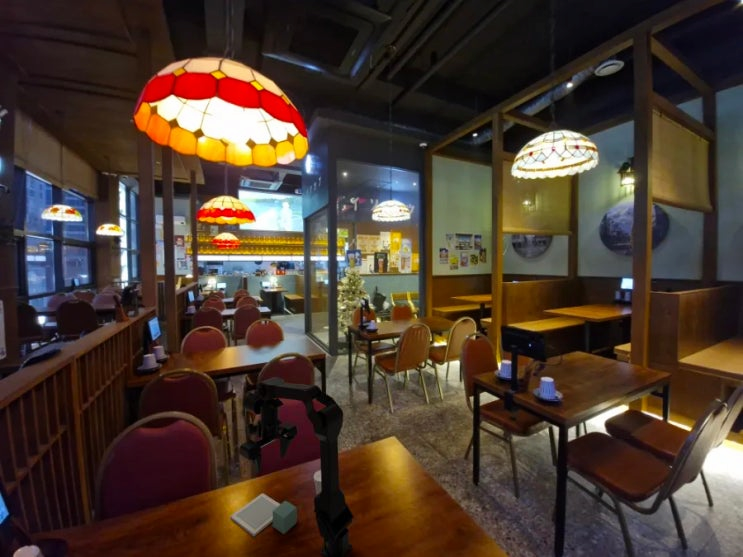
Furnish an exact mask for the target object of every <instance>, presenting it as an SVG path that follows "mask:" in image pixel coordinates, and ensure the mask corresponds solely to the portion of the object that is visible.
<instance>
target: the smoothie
mask: <svg viewBox="0 0 743 557" xmlns="http://www.w3.org/2000/svg"><path fill="white" fill-rule="evenodd" d="M313 482H314V484H315V494H316V496H317V495H318V494H319V493H320V492H321V469H318V470H317V471H316V472H315V473H314V474H313Z"/></svg>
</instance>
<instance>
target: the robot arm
mask: <svg viewBox="0 0 743 557" xmlns="http://www.w3.org/2000/svg"><path fill="white" fill-rule="evenodd" d="M281 399H285V400H291V401H297V402H302V403H303V405H304V406H305V414H306V417H307V418H308V420H309V422H311V425H312V426H313V432H314V434H315V436H316V438H317V439H318V440H319V457H320V458H319V459H320V470H321V492H320V493H319V494H318V495H317V494H316V496H314V498H313V504H314V509H313V513H315V520H316V524H317V528H318V532H319V536H320V537H321V538H323V546H324V547H323V548H322V549H321V550H320V554H321V555H322V556H324V557H347V555H348V554H349V553H350V551H352V549H353V544H351V543H350V542H349V541H350V537H349V536H350V533H349V532H350V529H348V527H349V526H350V525H352V523H353V521H354V517H355V516H354V515H353V513H352V511H351V509H350V508H349V506H348V504H347V502H346V498H345V497H346V496H345V493H344V492H343V491H342V490H341V488H340V473H339V471H340V470H339V445H338V444H339V441H338V440H339V435H340V432H341V430H342V428H343V422H344V412H343V409H342V408H341V406H339V404H338V403H337V401H336V400H335V399H334V398H333V397H332V396H330V395H328V394H327V393H325V392H323V390H322V389H321V388H320V386H318V385H316V384H312V385H309V384H299V383H291V382H285V380H284V379H283V378H280V377H277V376H274V377H273V376H272V377H271V378H268V379H265V380H262V381H259V382H258V383H257V387H256V388H255V389H252V390H249V391H248V392H247V395H246V396H245V398H244V400H243V402H242V406H243V409H244V410H246V411H247V412H250V413H252V414H254V415H257V416H259V415H260V419H259V420H258V421H256V422H255V423H253V422H252V423H248V424H245V426H244V428H245V435H246V436H251V437H252V436H256V438H257V439H259V438H260V440H258V441H256V442H255V441H254V440H252V439H250V440H248V441H246V442H244V443H242V444H240V446H239V448H238V455H240V456H242V457H243V458H245V459H246V460H250V461H251V463H252V464H253V467H254V470H255V471H256V473H257V474H259V473H260V472H261V466H262V456H263V454H261V452H262V448H263V447H265V446H266V445H267V446H268V444H270V443H272V442H275V441H276V440H277V439H279V454H280V458H281V459H284V458H285V455H286V454H287V451H288V449H289V448H290V445H291V444H292V441H293V440H294V439H295V438H296V436H297V435H298V434H299V431H298V430H299V429H298V426H297V425H295V424H293V423H291V422H289V421H286V422H284V423H282V419H280V407H282V406H284V403H283V401H282V400H281ZM314 401H317V402H318V403H320V404H322V405H323V406H324V407H323V408H321V409H319V410H316V408H315V407H314V406H315V405H314Z"/></svg>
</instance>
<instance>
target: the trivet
mask: <svg viewBox="0 0 743 557" xmlns="http://www.w3.org/2000/svg"><path fill="white" fill-rule="evenodd" d="M281 504H282V503H279V502H277V501H275V500H274V499H273V498H272V497H269V496H268V495H266V494H265V493H263V492H262V493H261V494H259V495H258V496H257V497H255V498H253V499H252V500H250V501H249V502H248V503H246V504H245V505H244V506H243V507H241V508H239V509H238V510H237V511H235V512H234V513H233V514H231V515H229V518H230V520H231V521H233V522H234V523H236V524H237V526H239V527H241V528H242V529H243V530H245V531H246V533H248V534H250V535H251V536H252V537H256V536H257V535H259V533H261V531H263V530H264V529H265V528H267V527H268V526H269V525H270V524H272V523H273V510H274V509H276V508H277V507H278V506H279V505H281Z"/></svg>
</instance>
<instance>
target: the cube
mask: <svg viewBox="0 0 743 557" xmlns="http://www.w3.org/2000/svg"><path fill="white" fill-rule="evenodd" d="M280 504H281V505H279V506H278V507H277V508H276V509H274V510H273V522H272V527H273V528H274V529H275V530H277V531H279V532H280V533H281V534H283V535H285V534H286V533H287V532H288V531H289V530H290V529H292V528H293V527H294V526H295V525H297V520H298V519H297V508H298V507H296V506H295V505H293V504H292V503H290V502H289V501H287V500H285V501H282V503H280Z"/></svg>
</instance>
